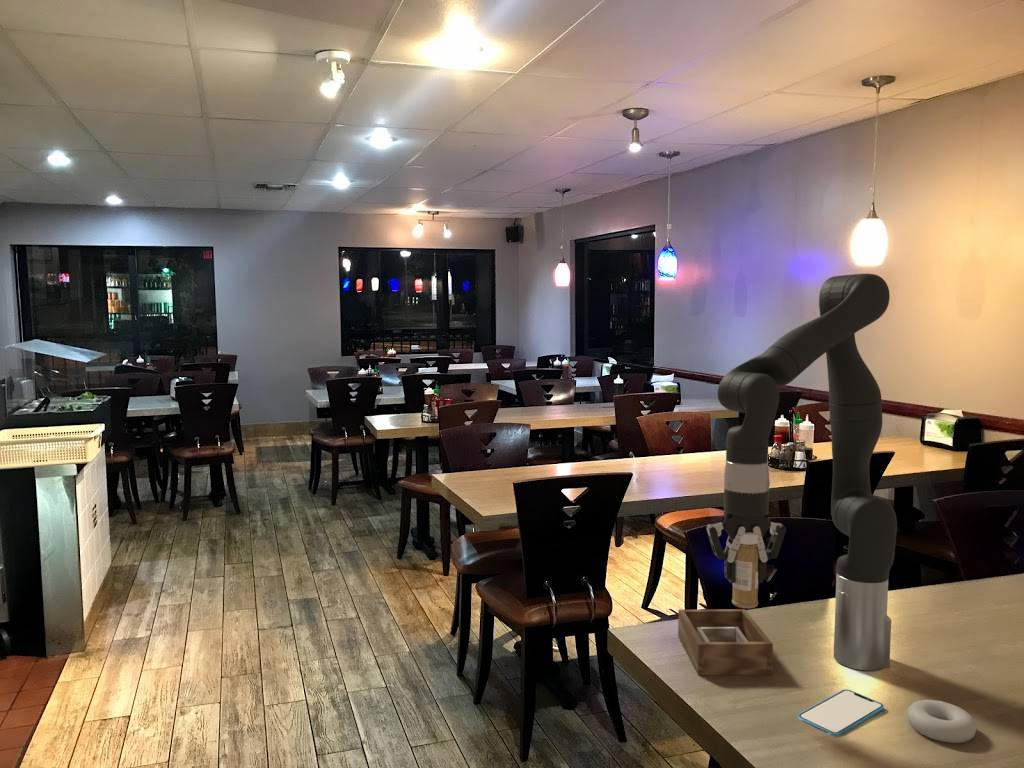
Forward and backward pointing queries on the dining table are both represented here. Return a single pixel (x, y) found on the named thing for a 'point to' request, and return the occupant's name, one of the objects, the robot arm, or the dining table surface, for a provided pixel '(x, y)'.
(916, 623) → the dining table surface
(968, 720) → the donut
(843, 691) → the smartphone
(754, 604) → the sprinkles bottle
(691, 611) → the caddy
